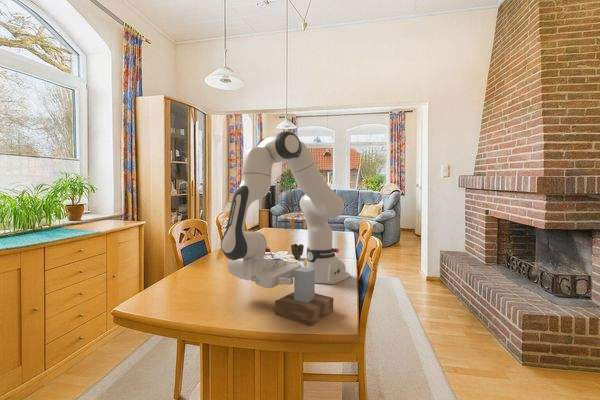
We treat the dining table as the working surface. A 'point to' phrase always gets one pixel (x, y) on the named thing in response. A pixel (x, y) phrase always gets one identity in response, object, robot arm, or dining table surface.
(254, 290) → the dining table surface
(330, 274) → the robot arm
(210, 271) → the dining table surface
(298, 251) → the dark brown tapered lump
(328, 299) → the walnut block
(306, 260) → the bread roll
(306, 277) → the slate block
